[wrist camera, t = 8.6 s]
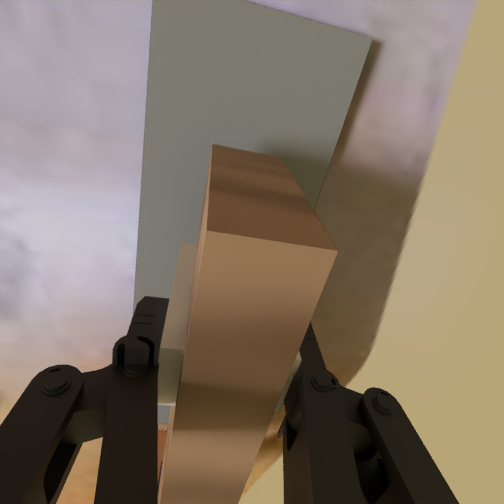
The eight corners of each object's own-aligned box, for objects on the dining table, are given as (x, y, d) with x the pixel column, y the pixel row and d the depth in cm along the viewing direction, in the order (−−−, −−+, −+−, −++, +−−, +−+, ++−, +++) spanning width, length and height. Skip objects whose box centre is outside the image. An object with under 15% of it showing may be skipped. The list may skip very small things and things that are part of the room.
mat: (156, -24, 13) (154, -27, 12) (367, 38, 15) (372, 38, 14) (127, 415, 27) (126, 422, 26) (238, 421, 28) (239, 427, 28)
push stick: (209, 143, 14) (201, 230, 7) (283, 158, 14) (342, 252, 8) (161, 455, 25) (140, 607, 18) (204, 457, 26) (199, 604, 19)
